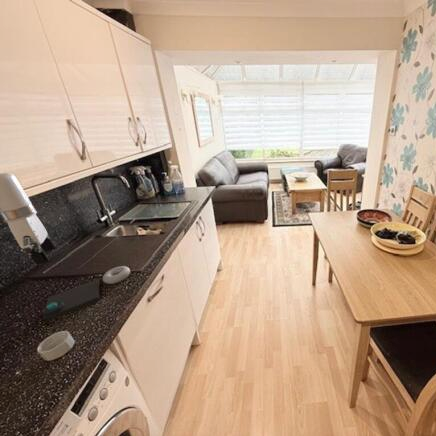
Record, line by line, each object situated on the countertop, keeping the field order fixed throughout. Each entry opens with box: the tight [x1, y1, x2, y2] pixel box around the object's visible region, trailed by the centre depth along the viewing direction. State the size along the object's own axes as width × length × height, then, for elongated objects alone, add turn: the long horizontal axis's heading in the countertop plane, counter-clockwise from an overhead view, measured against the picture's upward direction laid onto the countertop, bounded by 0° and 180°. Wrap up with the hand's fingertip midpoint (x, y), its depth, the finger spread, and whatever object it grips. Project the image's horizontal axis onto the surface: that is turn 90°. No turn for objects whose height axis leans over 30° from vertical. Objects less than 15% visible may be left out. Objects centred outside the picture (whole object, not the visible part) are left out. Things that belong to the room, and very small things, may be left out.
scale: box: [41, 278, 101, 323], centre depth 92 cm, size 16×14×3 cm
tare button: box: [47, 302, 58, 310], centre depth 85 cm, size 3×3×1 cm
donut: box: [102, 265, 131, 285], centre depth 102 cm, size 10×4×10 cm
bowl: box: [36, 330, 76, 362], centre depth 72 cm, size 7×7×4 cm
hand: (47, 256), depth 84 cm, fingers open, 9 cm apart
